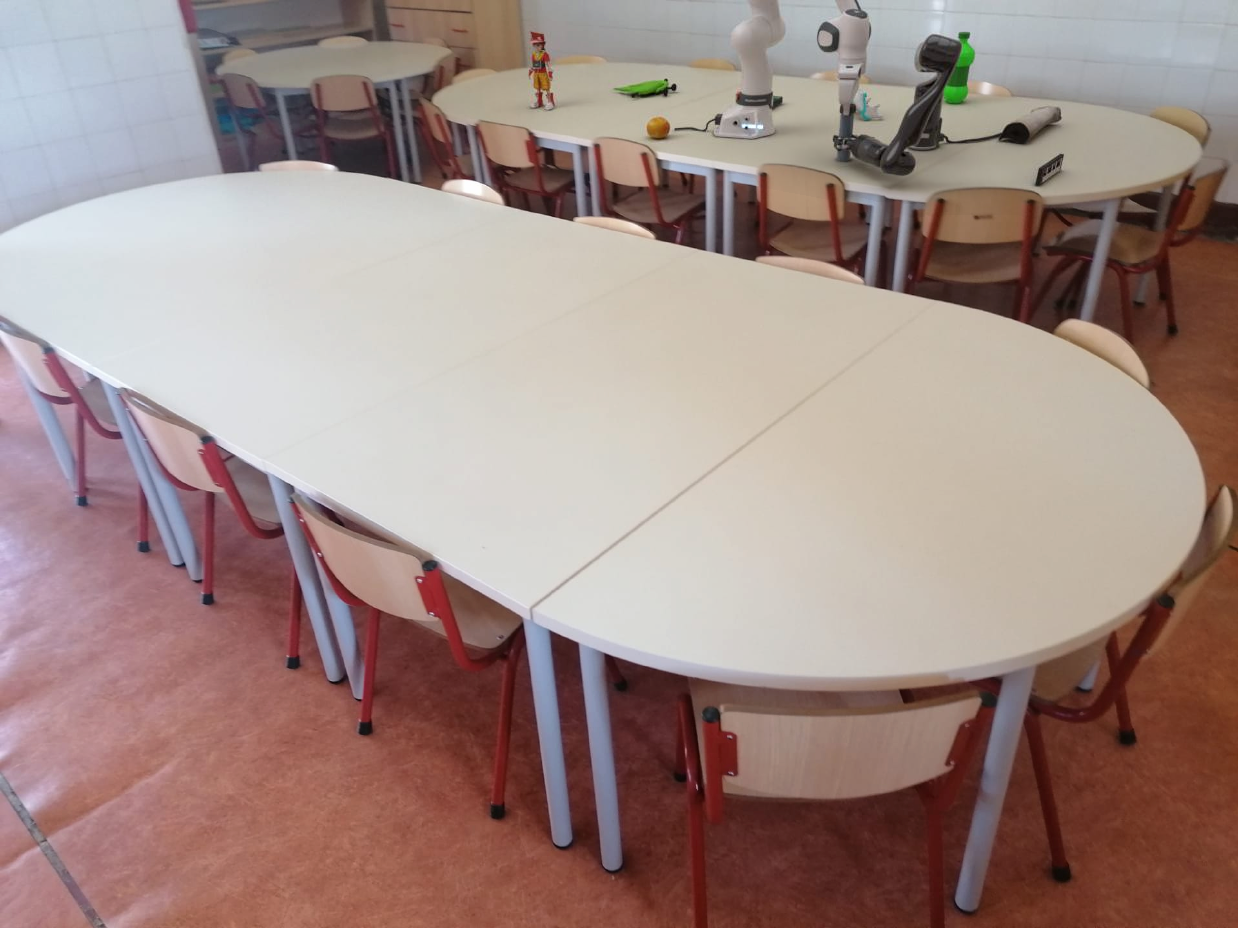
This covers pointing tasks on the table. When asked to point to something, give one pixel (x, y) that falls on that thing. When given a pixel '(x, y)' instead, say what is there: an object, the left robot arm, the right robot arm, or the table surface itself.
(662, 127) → the fruit
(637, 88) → the toy
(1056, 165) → the midi keyboard
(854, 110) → the lid
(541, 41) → the toy
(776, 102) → the disk drive
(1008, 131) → the rolled mat
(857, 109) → the anatomical model
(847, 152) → the jar
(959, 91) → the plastic bottle
